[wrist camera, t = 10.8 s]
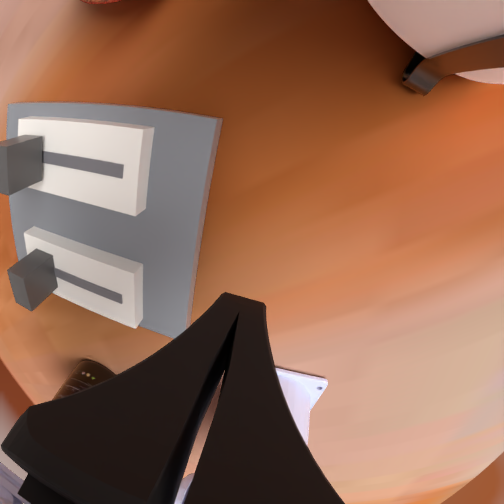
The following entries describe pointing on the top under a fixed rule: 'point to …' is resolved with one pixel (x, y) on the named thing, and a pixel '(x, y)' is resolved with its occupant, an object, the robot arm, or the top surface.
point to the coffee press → (448, 39)
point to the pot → (99, 1)
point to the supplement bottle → (84, 378)
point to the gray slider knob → (20, 163)
